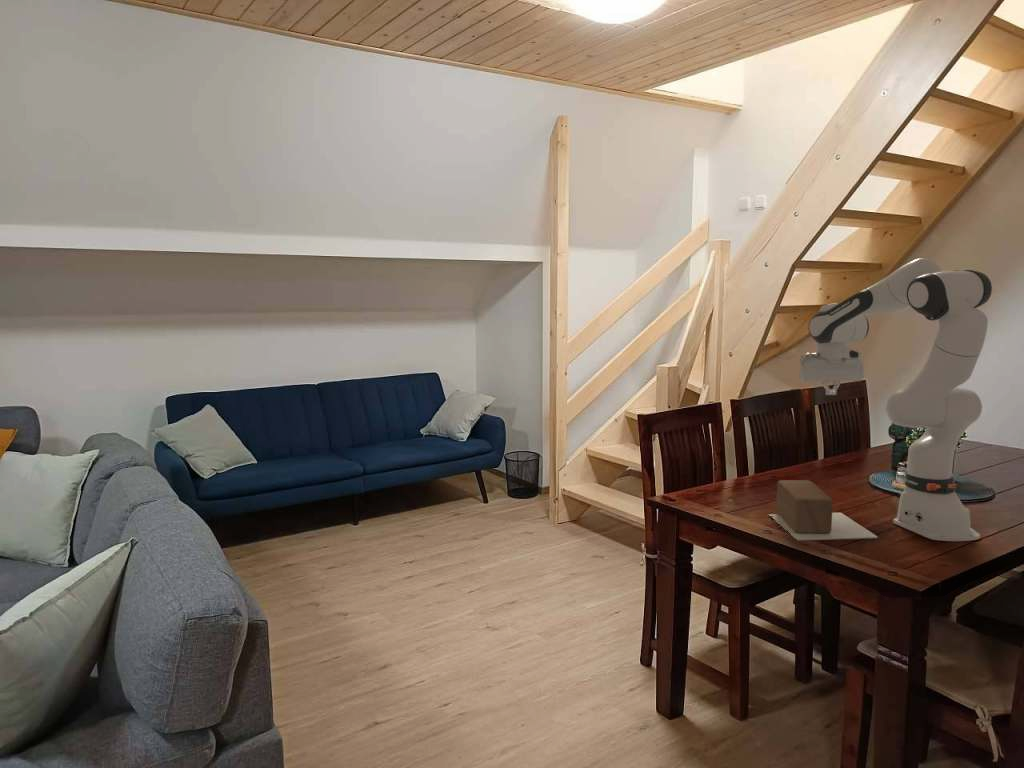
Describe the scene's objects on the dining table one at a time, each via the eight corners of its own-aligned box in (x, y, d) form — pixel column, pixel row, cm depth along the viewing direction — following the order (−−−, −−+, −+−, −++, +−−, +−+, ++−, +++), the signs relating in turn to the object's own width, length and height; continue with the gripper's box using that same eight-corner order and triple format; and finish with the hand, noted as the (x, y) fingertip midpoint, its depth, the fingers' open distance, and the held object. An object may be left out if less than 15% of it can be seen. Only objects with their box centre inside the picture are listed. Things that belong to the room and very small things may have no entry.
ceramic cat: (885, 467, 271) (888, 414, 268) (893, 464, 275) (896, 412, 272) (942, 478, 255) (946, 421, 253) (950, 475, 259) (954, 419, 256)
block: (811, 479, 219) (834, 499, 199) (809, 511, 220) (832, 534, 200) (776, 479, 220) (796, 498, 200) (775, 511, 221) (794, 534, 201)
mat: (877, 538, 198) (877, 536, 198) (797, 540, 198) (797, 538, 197) (840, 513, 219) (840, 512, 219) (767, 515, 218) (767, 514, 218)
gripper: (804, 353, 239) (804, 395, 239) (866, 352, 239) (865, 395, 240) (796, 353, 245) (796, 394, 245) (856, 353, 245) (856, 394, 246)
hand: (831, 394), depth 242 cm, fingers closed
